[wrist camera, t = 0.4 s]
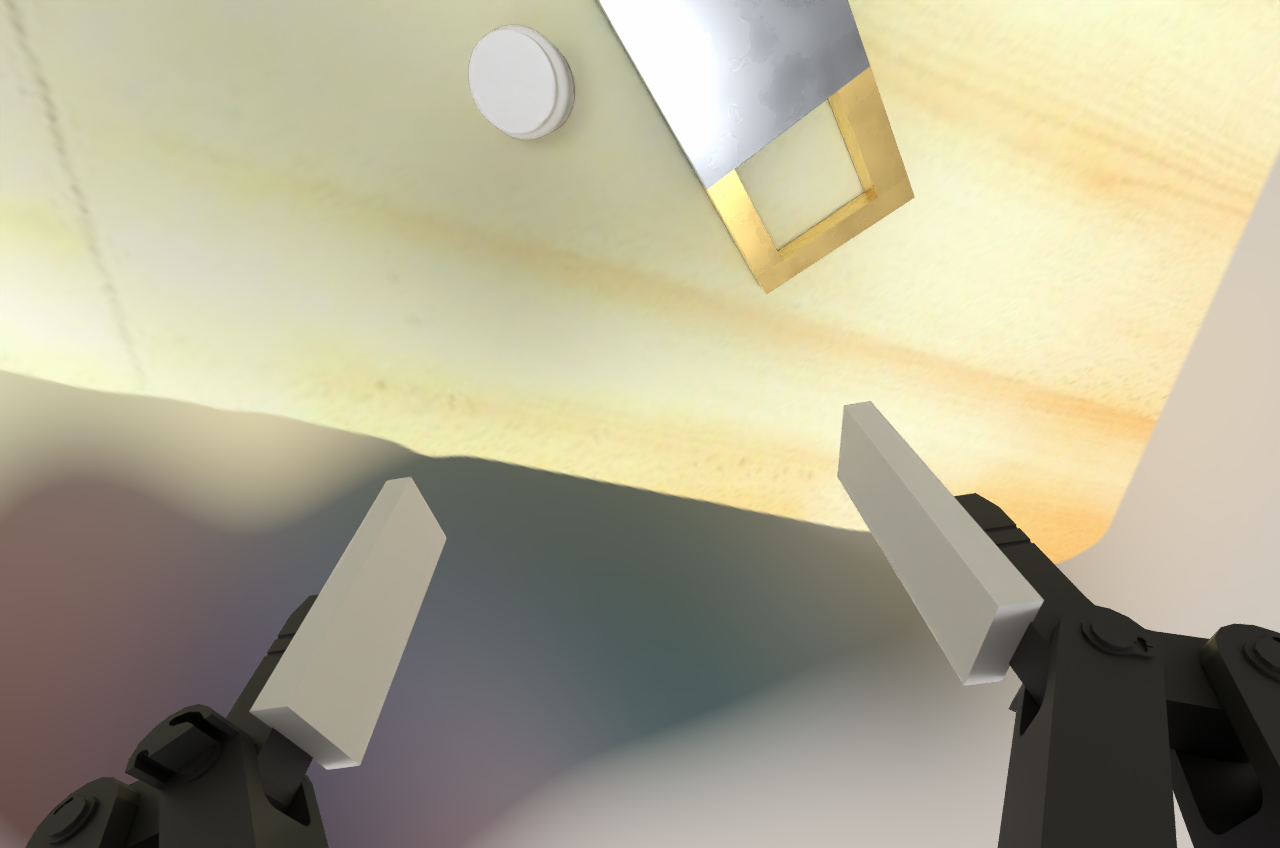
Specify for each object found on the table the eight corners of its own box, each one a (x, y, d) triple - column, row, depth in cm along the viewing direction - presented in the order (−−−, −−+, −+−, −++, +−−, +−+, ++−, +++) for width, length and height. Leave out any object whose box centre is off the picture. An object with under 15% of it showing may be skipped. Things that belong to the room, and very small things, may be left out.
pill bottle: (487, 112, 29) (448, 115, 22) (507, 21, 27) (470, -9, 20) (561, 147, 31) (546, 160, 24) (586, 63, 28) (577, 49, 21)
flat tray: (549, -82, 25) (544, -95, 23) (732, -279, 21) (742, -311, 20) (759, 285, 36) (766, 294, 34) (899, 192, 33) (914, 197, 31)
